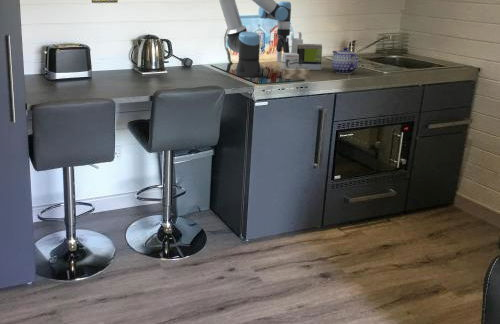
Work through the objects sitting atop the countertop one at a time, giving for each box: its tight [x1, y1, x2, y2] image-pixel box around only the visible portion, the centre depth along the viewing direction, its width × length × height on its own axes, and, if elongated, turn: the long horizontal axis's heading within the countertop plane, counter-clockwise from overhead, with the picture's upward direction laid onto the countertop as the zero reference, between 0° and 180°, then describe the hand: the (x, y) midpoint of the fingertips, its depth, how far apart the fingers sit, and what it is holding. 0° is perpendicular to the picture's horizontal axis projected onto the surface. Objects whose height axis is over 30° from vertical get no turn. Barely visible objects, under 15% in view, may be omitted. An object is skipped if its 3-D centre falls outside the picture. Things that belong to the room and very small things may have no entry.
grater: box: [287, 31, 304, 53], centre depth 365 cm, size 10×10×20 cm
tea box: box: [297, 43, 323, 71], centre depth 350 cm, size 15×10×15 cm, turn 84°
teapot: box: [331, 46, 359, 75], centre depth 340 cm, size 25×15×15 cm, turn 24°
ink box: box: [281, 52, 299, 75], centre depth 332 cm, size 9×5×12 cm, turn 105°
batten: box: [281, 69, 311, 80], centre depth 320 cm, size 15×3×5 cm, turn 103°
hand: (282, 64), depth 348 cm, fingers open, 13 cm apart
